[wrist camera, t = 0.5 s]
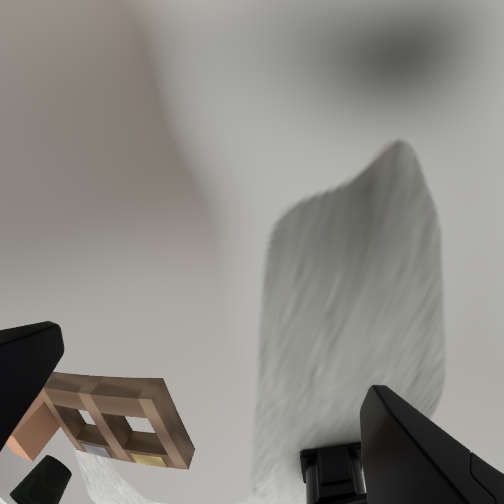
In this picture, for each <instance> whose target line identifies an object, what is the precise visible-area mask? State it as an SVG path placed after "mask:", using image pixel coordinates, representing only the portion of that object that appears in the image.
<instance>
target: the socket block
mask: <svg viewBox="0 0 504 504" xmlns="http://www.w3.org/2000/svg"><path fill="white" fill-rule="evenodd" d="M40 394H41V396H42V398H43V399H44V401H45V403H46V404H47V406H48V408H49V409H50V411H51V413H52V414H53V416H54V417H55V419H56V420H57V422H58V423H59V425H60V426H61V428H62V429H63V431H64V432H65V434H66V435H67V437H68V438H69V440H70V441H71V442H72V444H73V445H74V446H75V448H76V449H77V450H80V451H83V452H87V453H90V454H94V455H99V456H103V457H107V458H113V459H118V460H123V461H128V462H134V463H138V464H145V465H151V466H160V467H169V468H178V469H179V468H180V469H189V466H190V463H191V460H192V457H193V454H194V451H195V448H194V446H193V444H192V442H191V440H190V437H189V435H188V433H187V431H186V429H185V427H184V425H183V423H182V421H181V419H180V416H179V414H178V412H177V410H176V407H175V405H174V403H173V401H172V398H171V396H170V394H169V391H168V389H167V387H166V384H165V382H164V380H163V378H123V377H104V376H89V375H77V374H67V373H58V372H52V374H51V376H50V377H49V379H48V381H47V383H46V384H45V386H44V388H43V389H42V391H41V392H40ZM78 409H79V410H86V411H88V412H89V414H90V415H91V417H92V419H93V420H94V422H95V424H96V425H92V424H86V422H85V421H84V419H83V417H82V416H81V414H80V412H79V411H78ZM125 416H130V417H140V418H148V420H149V421H150V423H151V425H152V427H153V429H154V431H155V433H148V432H147V433H146V432H138V431H132V429H131V427H130V425H129V423H128V422H127V420H126V418H125Z"/></svg>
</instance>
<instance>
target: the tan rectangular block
mask: <svg viewBox="0 0 504 504" xmlns="http://www.w3.org/2000/svg"><path fill="white" fill-rule="evenodd" d="M59 427H60V425H59V423H58V422H57V420H56V419H55V417H54V416H53V414H52V413H51V411H50V409H49V408H48V406H47V404H46V403H45V401H44V399H43V398H42V396H41V394H39V395H38V396H37V398H36V399H35V401H34V402H33V403H32V405H31V406H30V408H29V409H28V411H27V412H26V413H25V415H24V416H23V418H22V419H21V421H20V422H19V424H18V425H17V427H16V428H15V430H14V431H13V433H12V434H11V436H10V437H9V439H8V441H7V442H6V443H7V445H8V446H9V447H10V448H11V450H12V451H13V452H14V453H15V454H17V455H20V456H21V457H24V458H26V459H28V460H30V461H34V460H35V458H36V457H37V456H38V454H39V453H40V452H41V450H42V449H43V448H44V447H45V445H46V444H47V443H48V441H49V440H50V439H51V437H52V436H53V435H54V434H55V432H56V431H57V430H58V429H59Z"/></svg>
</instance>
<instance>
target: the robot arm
mask: <svg viewBox="0 0 504 504" xmlns="http://www.w3.org/2000/svg"><path fill="white" fill-rule="evenodd" d="M63 353H64V343H63V338H62V332H61V328H60V326H59V325H58V324H56V323H53V322H51V321H46V322H41V323H35V324H31V325H25V326H20V327H16V328H10V329H4V330H0V451H1V450H2V448H3V447H4V445H5V444H6V442H7V441H8V439H9V437H10V436H11V434H12V433H13V431H14V430H15V428H16V427H17V425H18V424H19V422H20V421H21V419H22V418H23V416H24V415H25V413H26V412H27V411H28V409H29V408H30V406H31V405H32V403H33V402H34V401H35V399H36V398H37V396H38V395H39V394H40V392H41V391H42V389H43V388H44V386H45V384H46V383H47V381H48V379H49V377H50V376H51V374H52V372H53V370H54V369H55V367H56V365H57V364H58V362H59V360H60V359H61V357H62V356H63ZM360 427H361V442H359V443H353V444H348V445H342V446H336V447H330V448H323V449H315V450H307V451H302V452H301V453H300V461H301V467H302V474H303V481H304V483H306V498H307V504H504V474H503V473H501V472H500V471H498V470H497V469H495V468H493V467H492V466H491V465H489V464H488V463H486V462H485V461H483V460H482V459H481V458H479V457H478V456H477V455H475V454H474V453H472V452H471V453H470V450H469V449H467V448H466V447H465V446H463V445H462V444H461V443H459V442H458V441H457V440H455V439H454V438H453V437H452V436H450V435H449V434H448V433H446V432H445V431H444V430H442V429H441V428H440V427H438V426H437V425H436V424H435V423H433V422H432V421H431V420H429V419H428V418H427V417H425V416H424V415H423V414H422V413H420V412H419V411H418V410H416V409H415V408H414V407H413V406H411V405H410V404H409V403H407V402H406V401H405V400H404V399H402V398H401V397H400V396H399V395H397V394H396V393H395V392H393V391H392V390H391V389H390V388H388V387H387V386H385V385H372V386H371V387H370V388H369V390H368V392H367V395H366V397H365V399H364V402H363V404H362V406H361V410H360ZM362 465H363V472H364V478H365V485H366V492H367V493H365V489H364V483H363V478H362V473H361V472H362Z"/></svg>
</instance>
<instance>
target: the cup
mask: <svg viewBox="0 0 504 504" xmlns="http://www.w3.org/2000/svg"><path fill="white" fill-rule="evenodd" d="M71 475H72V474H71V472H70V470H69V469H68V468H67V467H66V466H65V465H64V464H62V463H61V462H60V461H58V460H57V459H55V458H54V457H52V456H49V455H46V456H45V457H44V458H43V459H42V460H41V462H39V464H38V465H37V466H36V467H35V468H34V469H33V470H32V471H31V472H30V473H29V474H28V475H27V476H26V477H25V478H24V479H23V481H22V482H21V483H20V484H19V485H18V486H17V487H16V488H15V489H14V490H13V491H12V492H11V493H10V496H11V497H12V499H13V500H14V501H15V502H17V504H59V501H60V499H61V497H62V495H63V493H64V490H65V488H66V486H67V484H68V482H69V480H70V478H71Z"/></svg>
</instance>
